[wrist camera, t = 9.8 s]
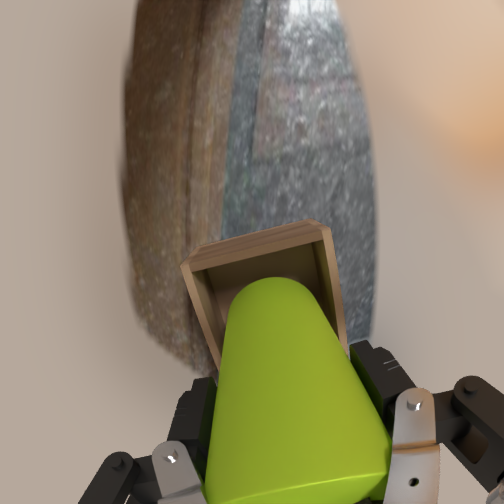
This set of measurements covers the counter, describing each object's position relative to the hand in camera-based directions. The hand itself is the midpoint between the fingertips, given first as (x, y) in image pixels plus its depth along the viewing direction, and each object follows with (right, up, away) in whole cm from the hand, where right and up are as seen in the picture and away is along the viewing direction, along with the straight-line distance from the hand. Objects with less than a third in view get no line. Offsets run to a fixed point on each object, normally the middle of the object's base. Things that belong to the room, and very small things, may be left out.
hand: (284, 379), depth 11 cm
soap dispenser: (0, +2, +7) cm, 7 cm away
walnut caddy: (0, +2, +10) cm, 10 cm away
